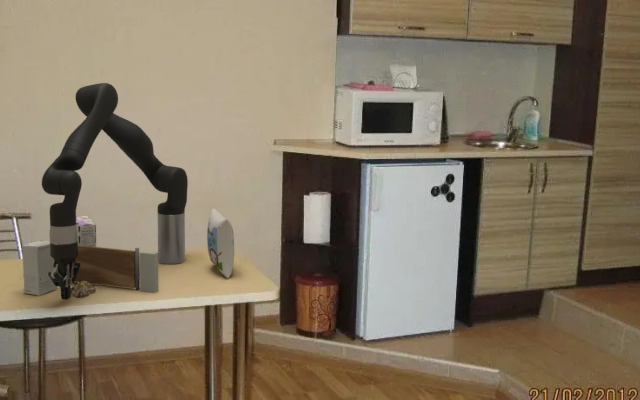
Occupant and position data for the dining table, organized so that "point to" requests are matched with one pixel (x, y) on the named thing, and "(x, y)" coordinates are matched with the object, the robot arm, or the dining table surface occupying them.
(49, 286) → the skincare box
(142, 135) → the robot arm
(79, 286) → the mineral rock
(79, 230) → the candy box
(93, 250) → the door
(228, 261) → the pouch
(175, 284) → the dining table surface
